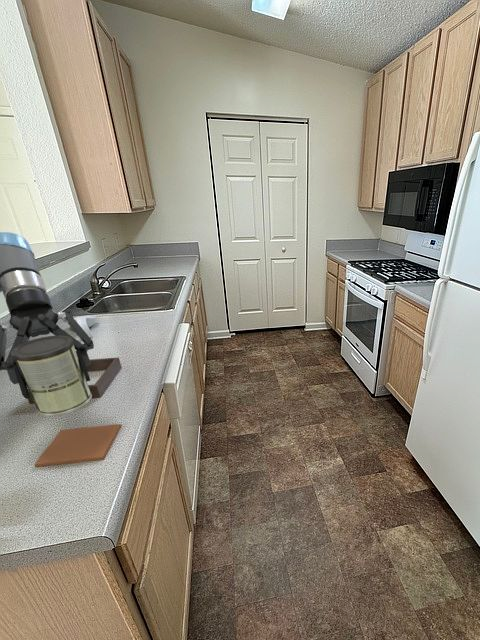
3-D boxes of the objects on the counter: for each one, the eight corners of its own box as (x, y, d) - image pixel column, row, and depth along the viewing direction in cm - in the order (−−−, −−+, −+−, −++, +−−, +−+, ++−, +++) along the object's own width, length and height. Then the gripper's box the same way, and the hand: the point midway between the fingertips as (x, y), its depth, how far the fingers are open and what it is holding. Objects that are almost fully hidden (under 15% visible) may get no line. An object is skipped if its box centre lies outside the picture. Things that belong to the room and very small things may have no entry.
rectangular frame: (29, 403, 94) (24, 391, 93) (62, 372, 111) (58, 361, 109) (100, 397, 97) (96, 385, 95) (121, 367, 114) (118, 357, 112)
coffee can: (26, 409, 71) (-1, 350, 65) (74, 386, 79) (53, 332, 73) (55, 422, 67) (29, 359, 61) (102, 396, 75) (83, 339, 69)
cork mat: (35, 467, 72) (34, 464, 72) (62, 432, 83) (61, 429, 82) (103, 459, 74) (102, 456, 74) (121, 426, 84) (120, 423, 84)
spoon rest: (68, 325, 152) (63, 310, 149) (97, 320, 158) (93, 306, 154) (71, 342, 134) (65, 325, 131) (103, 335, 140) (98, 319, 137)
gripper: (87, 297, 82) (118, 376, 78) (-35, 316, 70) (-6, 412, 66) (84, 279, 76) (117, 364, 72) (-51, 297, 64) (-20, 401, 59)
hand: (58, 387), depth 69 cm, fingers closed on coffee can, 10 cm apart
